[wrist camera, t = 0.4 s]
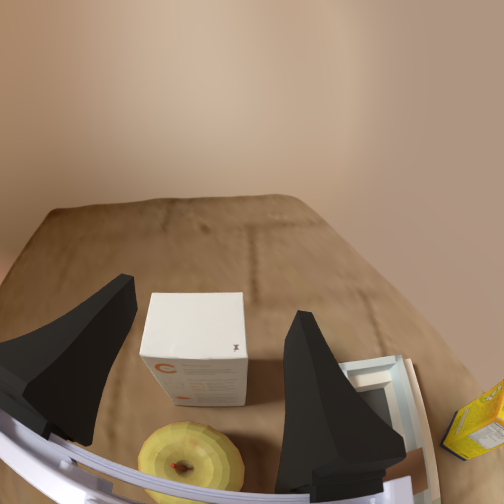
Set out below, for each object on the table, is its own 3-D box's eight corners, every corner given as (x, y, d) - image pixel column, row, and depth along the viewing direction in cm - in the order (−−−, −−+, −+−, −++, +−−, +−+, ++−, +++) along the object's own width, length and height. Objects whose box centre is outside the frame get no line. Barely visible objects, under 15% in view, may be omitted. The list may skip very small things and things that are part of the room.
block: (407, 491, 15) (428, 488, 13) (365, 505, 15) (384, 506, 12) (402, 453, 19) (422, 446, 16) (361, 465, 19) (379, 461, 16)
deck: (429, 564, 6) (451, 567, 3) (318, 605, 5) (330, 618, 2) (401, 367, 30) (417, 350, 27) (303, 380, 29) (312, 365, 26)
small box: (242, 358, 31) (245, 290, 23) (245, 406, 27) (250, 358, 18) (176, 358, 31) (150, 290, 22) (173, 405, 26) (137, 356, 17)
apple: (140, 440, 22) (111, 425, 17) (222, 419, 25) (217, 399, 20) (170, 517, 16) (147, 528, 10) (259, 494, 19) (267, 499, 13)
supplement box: (478, 427, 20) (532, 394, 13) (463, 462, 17) (522, 437, 10) (455, 410, 24) (508, 374, 16) (438, 445, 20) (497, 417, 13)
